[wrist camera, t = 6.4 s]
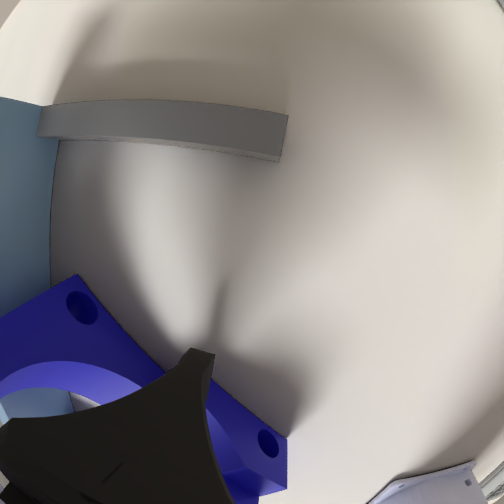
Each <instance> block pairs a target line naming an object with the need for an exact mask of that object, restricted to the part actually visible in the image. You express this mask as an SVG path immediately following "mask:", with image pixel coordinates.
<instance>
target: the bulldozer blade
mask: <svg viewBox="0 0 504 504" xmlns="http://www.w3.org/2000/svg"><path fill="white" fill-rule="evenodd" d="M287 120H288V115H285V114H280V113H274V112H269V111H263V110H257V109H251V108H244V107H237V106H229V105H221V104H211V103H201V102H188V101H171V100H103V101H87V102H75V103H65V104H57V105H49V106H39V105H35V104H31V103H27V102H22V101H18V100H14V99H9V98H4V97H0V318H1V317H3V316H4V315H6V314H7V313H9V312H11V311H12V310H14V309H16V308H17V307H19V306H21V305H22V304H24V303H26V302H27V301H29V300H31V299H33V298H34V297H36V296H38V295H40V294H41V293H43V292H45V291H47V290H48V289H50V288H51V280H50V252H49V239H50V211H51V197H52V186H53V177H54V170H55V162H56V156H57V150H58V144H59V140H102V141H122V142H138V143H150V144H161V145H171V146H180V147H189V148H197V149H204V150H211V151H218V152H225V153H231V154H237V155H243V156H249V157H255V158H260V159H265V160H270V161H275V162H279V160H280V156H281V151H282V146H283V141H284V136H285V131H286V125H287ZM74 412H75V411H74V409H73V405H72V402H71V399H70V395H69V391H66V390H61V389H56V388H47V387H35V388H27V389H22V390H18V391H15V392H13V393H10V394H8V395H6V396H4V397H2V398H1V399H0V419H1V421H2V423H3V425H4V424H5V423H6V422H7V421H8V420H10V419H11V418H12V417H14V418H28V417H48V416H57V415H64V414H69V413H74Z"/></svg>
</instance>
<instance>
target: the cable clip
mask: <svg viewBox="0 0 504 504" xmlns="http://www.w3.org/2000/svg"><path fill="white" fill-rule="evenodd" d="M164 374H166V373H165V372H164V371H163V370H162V369H161V368H160V367H159V366H158V365H157V364H156V363H155V362H154V361H153V360H152V359H151V358H150V357H149V356H148V355H147V354H146V353H145V352H144V351H143V350H142V349H141V348H140V347H139V346H138V345H137V344H136V343H135V342H134V341H133V340H132V339H131V337H130V336H129V335H128V334H127V333H126V332H125V331H124V330H123V329H122V328H121V327H120V325H119V324H118V323H117V322H116V321H115V320H114V319H113V318H112V316H111V315H110V314H109V313H108V312H107V311H106V309H105V308H104V307H103V306H102V305H101V303H100V302H99V301H98V300H97V299H96V297H95V296H94V295H93V294H92V292H91V291H90V290H89V288H88V287H87V286H86V285H85V283H84V282H83V281H82V279H81V278H80V277H79V275H78V274H76V275H74V276H72V277H70V278H68V279H66V280H65V281H63V282H61V283H59V284H57V285H56V286H54V287H52V288H50V289H48V290H47V291H45V292H43V293H41V294H40V295H38V296H36V297H34V298H33V299H31V300H29V301H27V302H26V303H24V304H22V305H21V306H19V307H17V308H16V309H14V310H12V311H11V312H9V313H7V314H6V315H4V316H3V317H1V318H0V399H1V398H2V397H4V396H6V395H8V394H10V393H13V392H15V391H18V390H22V389H27V388H35V387H47V388H56V389H61V390H66V391H70V392H73V393H76V394H79V395H82V396H84V397H86V398H89V399H91V400H93V401H95V402H97V403H99V404H100V405H104V404H106V403H109V402H112V401H115V400H117V399H120V398H122V397H124V396H127V395H129V394H131V393H133V392H135V391H137V390H139V389H141V388H142V387H144V386H146V385H148V384H149V383H151V382H153V381H155V380H156V379H158V378H160V377H161V376H163V375H164ZM205 406H206V415H207V422H208V427H209V432H210V437H211V441H212V445H213V449H214V452H215V455H216V458H217V461H218V464H219V467H220V470H221V473H222V475H223V478H224V480H225V483H226V485H227V487H228V489H229V492H230V494H231V496H232V498H233V500H234V502H235V504H258V502H259V496H263V495H267V494H271V493H275V492H278V491H282V490H285V489H287V439H285V438H284V437H283V436H281V435H280V434H278V433H277V432H276V431H274V430H273V429H272V428H270V427H269V426H268V425H266V424H265V423H264V422H263V421H261V420H260V419H259V418H257V417H256V416H255V415H254V414H252V413H251V412H250V411H249V410H247V409H246V408H245V407H244V406H242V405H241V404H240V403H239V402H238V401H236V400H235V399H234V398H233V397H232V396H230V395H229V394H228V393H227V392H226V391H225V390H223V389H222V388H221V387H220V386H219V385H218V384H217V383H215V382H214V381H213V380H212V379H211V381H210V387H209V392H208V397H207V400H206V403H205Z"/></svg>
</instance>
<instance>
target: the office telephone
mask: <svg viewBox="0 0 504 504" xmlns="http://www.w3.org/2000/svg"><path fill="white" fill-rule="evenodd" d="M479 486H480V488H481V490H482V492H483V494H484V496H485V498H486V500H487V502H488V501H490V500H493V499H496V498H498V497H500V496H501V495H503V494H504V461H503V462H502V463H501V464H500V465H499V466H498V467H497V468H496V469H495V470H494V471H493V472H491V473H490V474H489V475H488V476H487V477H486V478H485V479H484V480H482V481H481V482H480V483H479Z"/></svg>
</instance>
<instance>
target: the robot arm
mask: <svg viewBox="0 0 504 504" xmlns="http://www.w3.org/2000/svg"><path fill="white" fill-rule="evenodd" d="M214 359H215V354H211V353H208V352H204V351H201V350H197V349H194V348H190V349H189V350H188V351H187V352H186V353H185V354H184V355H183V356H182V358H181V360H180V362H179V363H178V365H177V366H176V367H174V368H173V369H171V370H170V371H169V372H167V373H166V374H164V375H163V376H161V377H160V378H158V379H156V380H155V381H153V382H151V383H149V384H148V385H146V386H144V387H142V388H141V389H139V390H137V391H135V392H133V393H131V394H129V395H127V396H124V397H122V398H120V399H117V400H115V401H112V402H109V403H106V404H104V405H101V406H98V407H94V408H91V409H87V410H84V411H79V412H74V413H69V414H64V415H57V416H48V417H28V418H14V417H12V418H11V419H10V420H8V421H7V422H6V423H5V424H4V425H3V426H2V427H1V428H0V471H1V472H2V473H3V475H4V476H5V477H6V478H7V479H8V480H9V481H10V482H9V484H8V485H7V486H6V487H5V488H4V487H3V486H2V485H1V484H0V504H235V502H234V500H233V498H232V496H231V494H230V492H229V489H228V487H227V485H226V483H225V480H224V478H223V475H222V473H221V470H220V467H219V464H218V461H217V458H216V455H215V452H214V449H213V445H212V441H211V437H210V432H209V427H208V422H207V415H206V406H205V403H206V400H207V397H208V392H209V387H210V381H211V376H212V370H213V364H214ZM475 465H476V461H475V460H474V461H471V462H468V463H465V464H462V465H459V466H456V467H452V468H449V469H445V470H442V471H438V472H434V473H430V474H426V475H421V476H417V477H412V478H407V479H401V480H396V481H394V482H392V483H390V484H389V485H388V486H387V487H386V488H385V489H384V490H383V491H382V492H381V493H380V494H379V495H378V496H376V497H375V498H374V499H373V500H372V501H371V502H370V503H369V504H488V502H487V500H486V498H485V496H484V494H483V492H482V490H481V488H480V486H479V484H478V482H477V480H476V478H475V476H474V474H473V472H472V470H471V469H472V468H473V467H474V466H475Z"/></svg>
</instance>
